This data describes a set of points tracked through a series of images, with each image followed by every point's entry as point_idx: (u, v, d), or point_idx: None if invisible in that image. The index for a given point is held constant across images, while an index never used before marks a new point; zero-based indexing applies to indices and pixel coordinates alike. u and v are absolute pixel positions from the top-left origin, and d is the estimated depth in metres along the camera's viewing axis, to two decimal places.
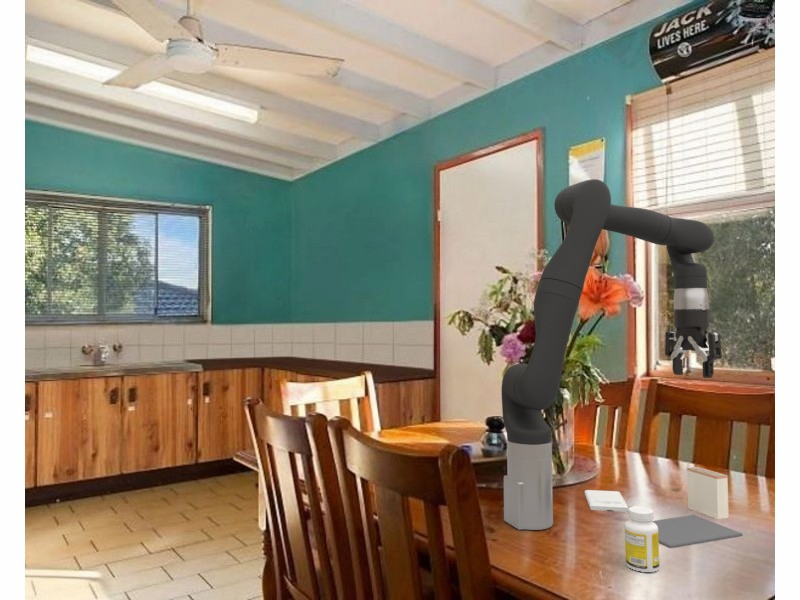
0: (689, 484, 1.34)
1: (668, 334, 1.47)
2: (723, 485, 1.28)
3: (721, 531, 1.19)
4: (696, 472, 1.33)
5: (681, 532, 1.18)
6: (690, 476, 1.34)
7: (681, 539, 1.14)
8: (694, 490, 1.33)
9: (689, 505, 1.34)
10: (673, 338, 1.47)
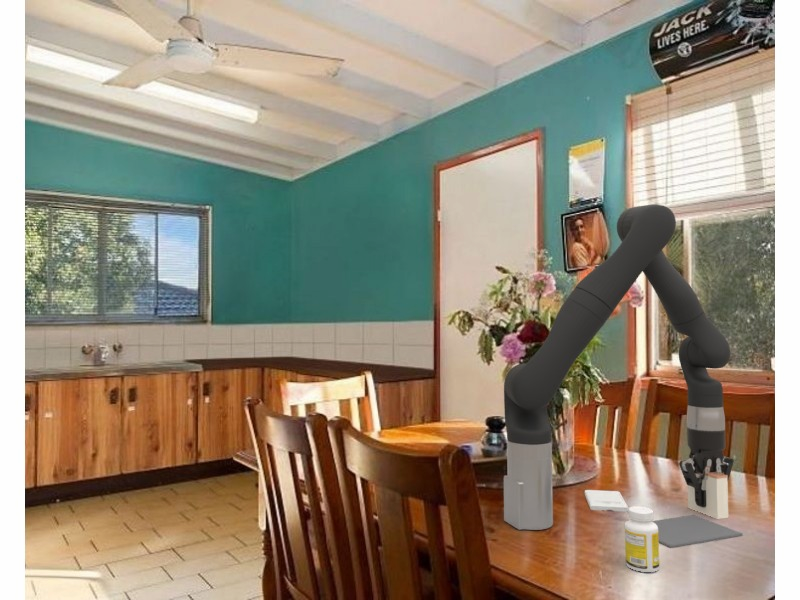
0: None
1: (691, 465, 1.29)
2: (723, 485, 1.28)
3: (721, 531, 1.19)
4: None
5: (681, 532, 1.18)
6: None
7: (681, 539, 1.14)
8: (694, 490, 1.33)
9: (689, 505, 1.34)
10: None
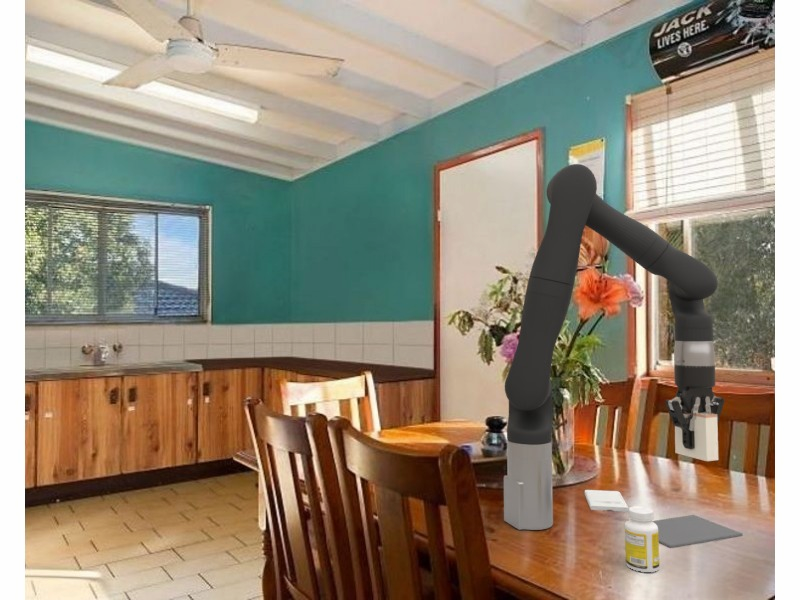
0: (676, 427, 1.25)
1: (678, 403, 1.19)
2: (712, 425, 1.19)
3: (721, 531, 1.19)
4: None
5: (681, 532, 1.18)
6: None
7: (681, 539, 1.14)
8: (681, 433, 1.24)
9: (676, 449, 1.25)
10: None
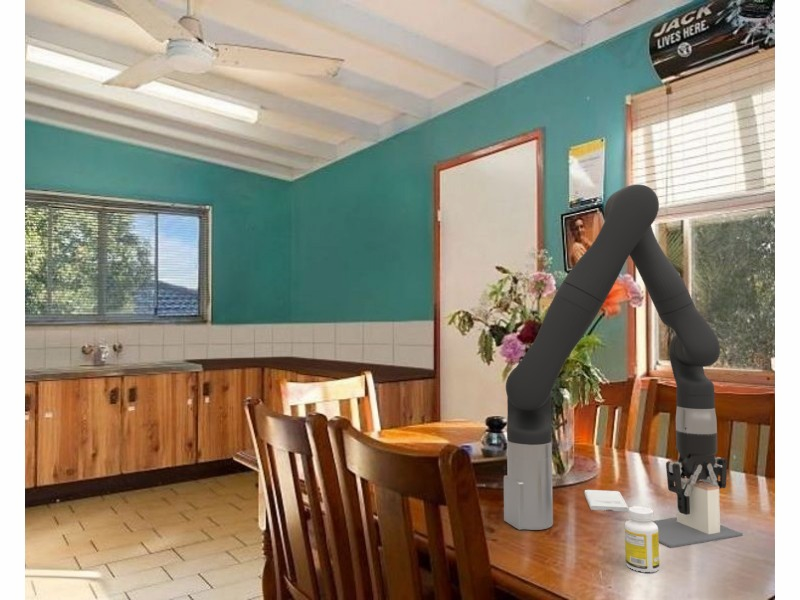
0: None
1: (678, 466, 1.19)
2: (714, 497, 1.18)
3: (721, 531, 1.19)
4: None
5: (681, 532, 1.18)
6: None
7: (681, 539, 1.14)
8: None
9: (678, 518, 1.24)
10: None
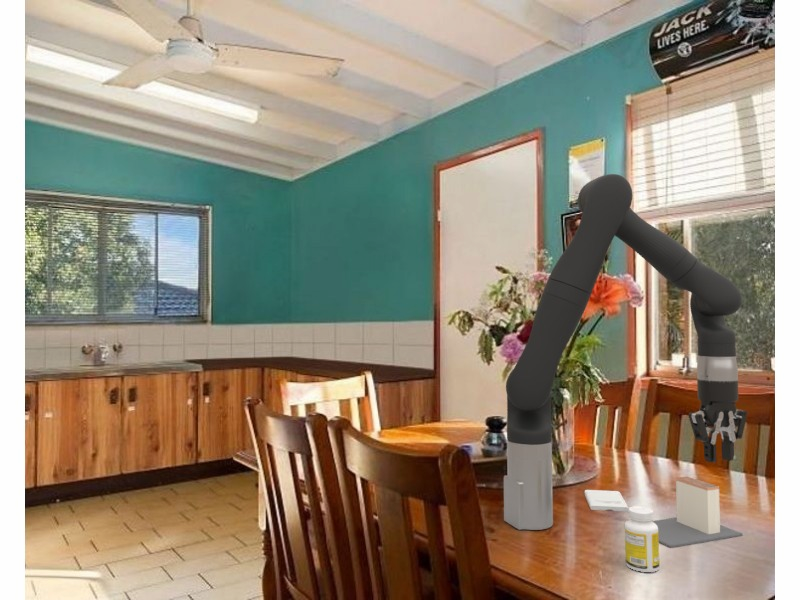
0: (678, 495, 1.24)
1: (701, 416, 1.21)
2: (714, 497, 1.18)
3: (721, 531, 1.19)
4: (685, 482, 1.23)
5: (681, 532, 1.18)
6: (679, 487, 1.24)
7: (681, 539, 1.14)
8: (683, 502, 1.23)
9: (678, 518, 1.24)
10: None
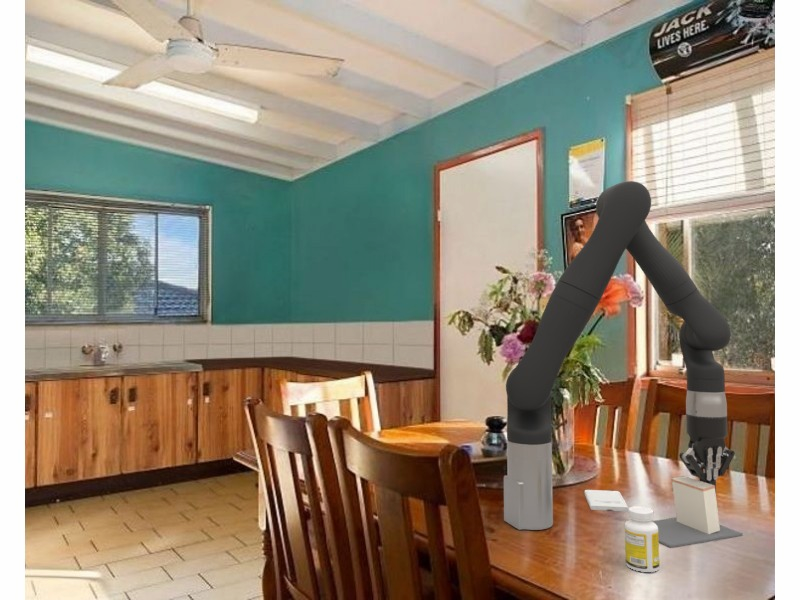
0: (675, 496, 1.24)
1: (692, 456, 1.20)
2: (711, 497, 1.18)
3: (721, 531, 1.19)
4: (681, 483, 1.22)
5: (681, 532, 1.18)
6: (675, 487, 1.24)
7: (681, 539, 1.14)
8: (681, 503, 1.23)
9: (677, 518, 1.24)
10: (693, 456, 1.21)
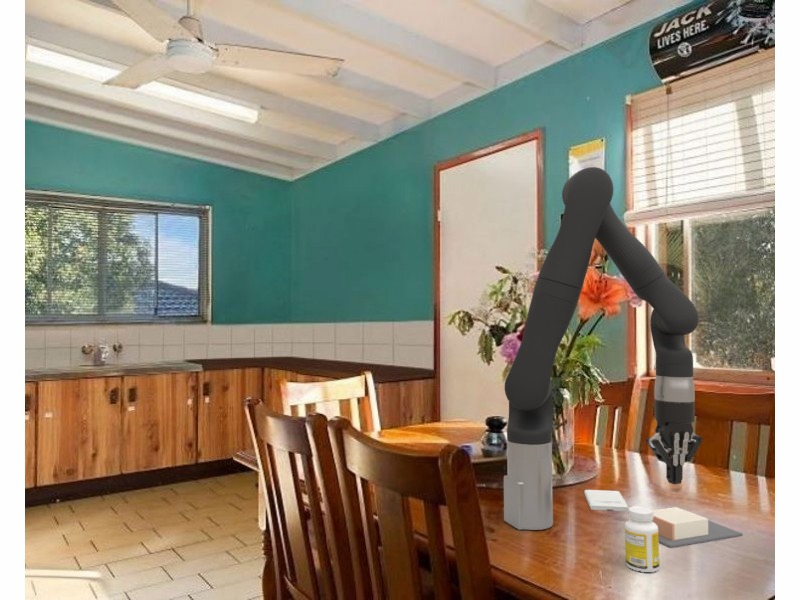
0: None
1: (658, 441, 1.20)
2: (680, 529, 1.15)
3: (721, 531, 1.19)
4: None
5: None
6: None
7: (681, 539, 1.14)
8: None
9: None
10: (660, 441, 1.21)
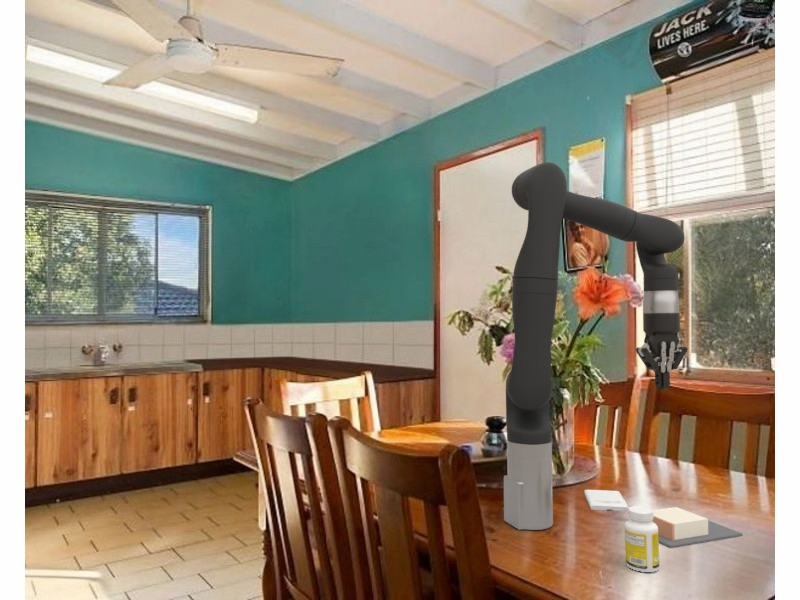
0: None
1: (646, 349, 1.31)
2: (680, 529, 1.15)
3: (721, 531, 1.19)
4: None
5: None
6: None
7: (681, 539, 1.14)
8: None
9: None
10: (648, 350, 1.32)
